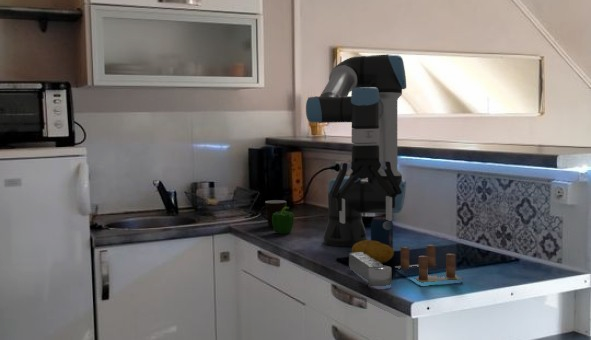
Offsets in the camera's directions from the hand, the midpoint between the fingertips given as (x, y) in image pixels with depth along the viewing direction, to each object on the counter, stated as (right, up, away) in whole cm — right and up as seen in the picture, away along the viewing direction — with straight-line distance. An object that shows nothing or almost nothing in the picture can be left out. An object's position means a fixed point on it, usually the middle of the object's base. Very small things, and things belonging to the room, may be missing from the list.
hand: (365, 221), depth 177 cm
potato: (+4, -14, +17) cm, 22 cm away
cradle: (+17, -15, +1) cm, 23 cm away
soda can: (+8, -13, +28) cm, 32 cm away
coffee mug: (-29, -9, +82) cm, 87 cm away
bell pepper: (-24, -10, +68) cm, 72 cm away
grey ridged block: (+1, -16, -1) cm, 16 cm away
